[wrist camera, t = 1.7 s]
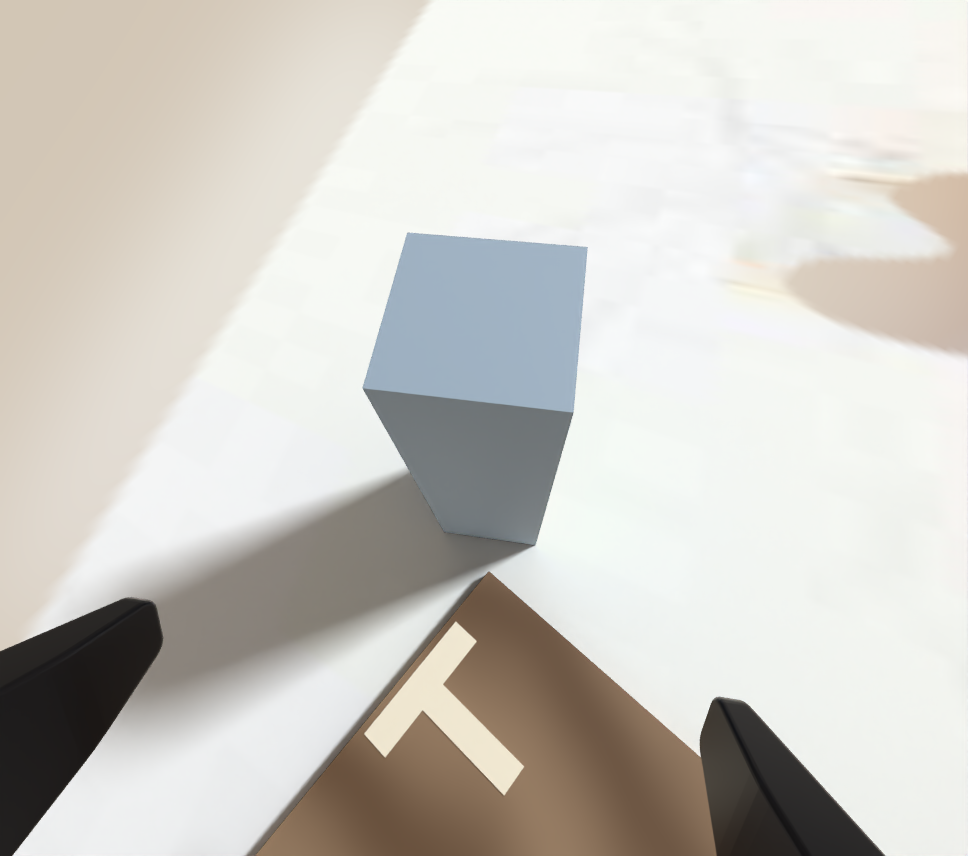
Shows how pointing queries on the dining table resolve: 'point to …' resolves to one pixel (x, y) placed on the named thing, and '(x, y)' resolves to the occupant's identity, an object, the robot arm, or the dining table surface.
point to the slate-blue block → (480, 376)
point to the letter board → (504, 757)
